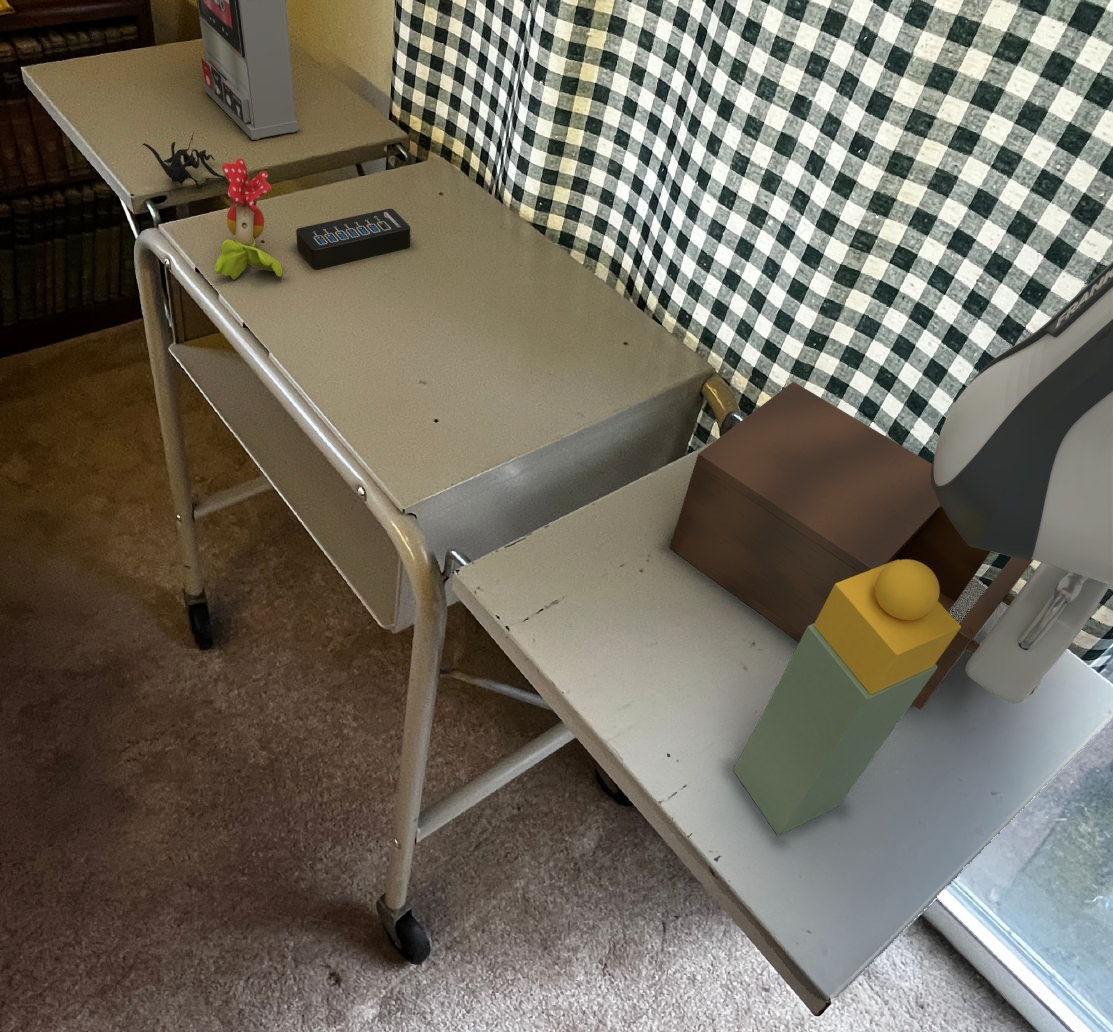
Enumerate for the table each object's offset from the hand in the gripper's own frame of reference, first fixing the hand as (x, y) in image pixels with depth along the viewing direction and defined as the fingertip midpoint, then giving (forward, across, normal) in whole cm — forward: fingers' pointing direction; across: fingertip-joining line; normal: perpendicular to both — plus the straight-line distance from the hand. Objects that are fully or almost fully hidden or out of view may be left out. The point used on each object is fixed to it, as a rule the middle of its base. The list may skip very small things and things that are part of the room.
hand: (1013, 647), depth 66 cm
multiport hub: (+6, +2, +72) cm, 73 cm away
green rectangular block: (+6, -17, +6) cm, 19 cm away
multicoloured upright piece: (+6, -8, +76) cm, 77 cm away
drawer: (+5, 0, +7) cm, 8 cm away
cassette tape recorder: (+6, +12, +103) cm, 104 cm away
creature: (+6, -3, +94) cm, 94 cm away
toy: (-10, -17, +6) cm, 21 cm away
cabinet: (+6, 0, +17) cm, 18 cm away
